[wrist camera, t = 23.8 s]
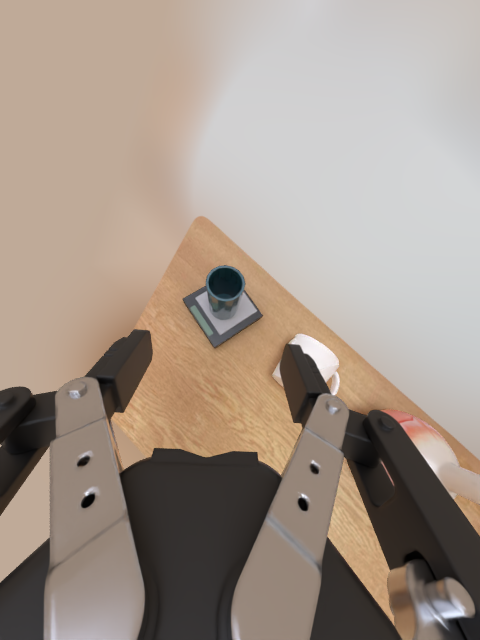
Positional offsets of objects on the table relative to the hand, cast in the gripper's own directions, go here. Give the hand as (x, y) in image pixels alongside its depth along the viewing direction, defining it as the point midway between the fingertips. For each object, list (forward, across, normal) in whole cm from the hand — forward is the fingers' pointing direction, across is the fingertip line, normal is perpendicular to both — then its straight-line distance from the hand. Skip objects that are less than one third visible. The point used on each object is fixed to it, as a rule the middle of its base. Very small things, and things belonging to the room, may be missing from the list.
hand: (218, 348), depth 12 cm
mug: (+20, -17, +21) cm, 34 cm away
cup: (+26, 0, +10) cm, 28 cm away
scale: (+28, 0, +12) cm, 31 cm away
